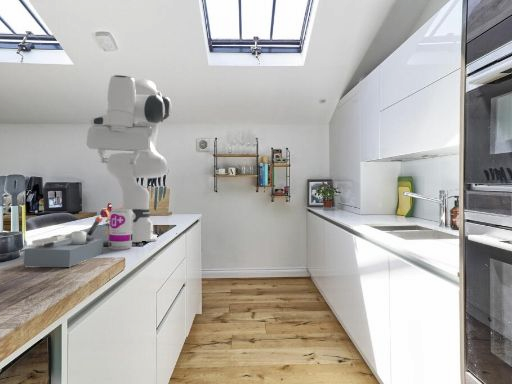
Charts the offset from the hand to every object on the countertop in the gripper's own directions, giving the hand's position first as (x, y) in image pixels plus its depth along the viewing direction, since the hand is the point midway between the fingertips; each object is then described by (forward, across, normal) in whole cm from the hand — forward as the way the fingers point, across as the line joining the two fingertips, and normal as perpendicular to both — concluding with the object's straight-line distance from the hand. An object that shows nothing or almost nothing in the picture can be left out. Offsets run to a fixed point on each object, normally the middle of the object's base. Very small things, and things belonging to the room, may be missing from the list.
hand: (118, 163), depth 105 cm
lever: (+24, +8, 0) cm, 26 cm away
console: (+31, +12, +6) cm, 34 cm away
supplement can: (+31, +4, -16) cm, 35 cm away
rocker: (+24, +14, +13) cm, 31 cm away
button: (+26, +8, +7) cm, 28 cm away
